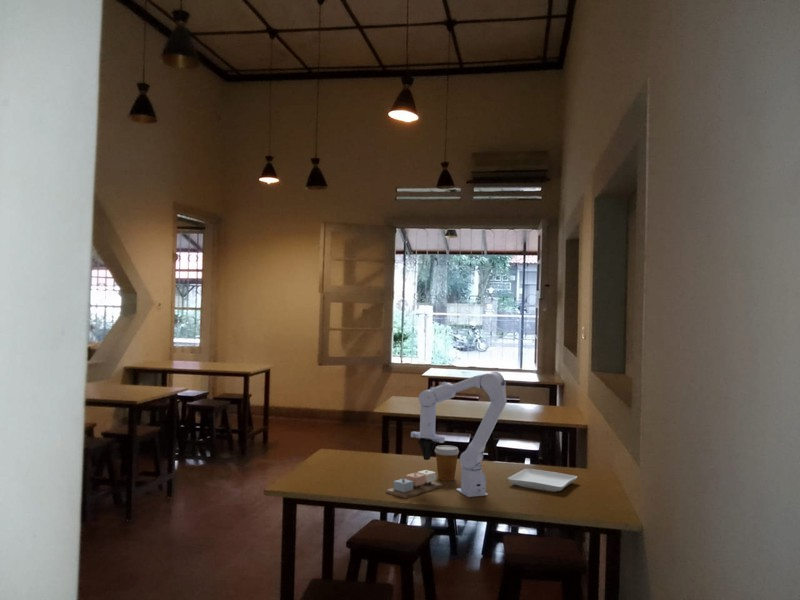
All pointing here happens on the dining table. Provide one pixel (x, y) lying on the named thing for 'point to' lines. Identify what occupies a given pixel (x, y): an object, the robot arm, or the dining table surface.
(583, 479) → the dining table surface
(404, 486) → the key three
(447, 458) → the disposable coffee cup
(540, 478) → the salad plate
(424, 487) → the board
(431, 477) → the key one
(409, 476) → the key two
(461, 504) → the dining table surface
